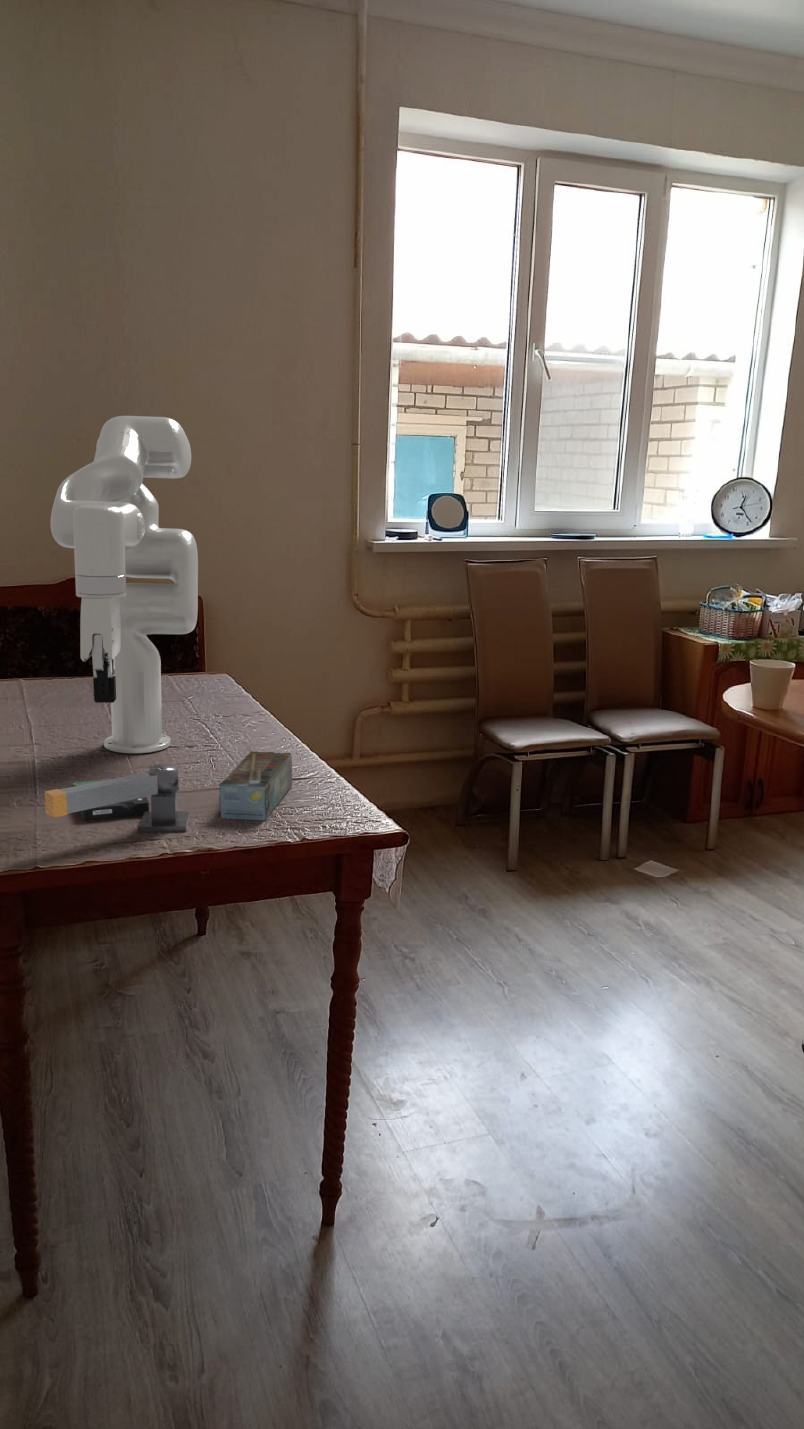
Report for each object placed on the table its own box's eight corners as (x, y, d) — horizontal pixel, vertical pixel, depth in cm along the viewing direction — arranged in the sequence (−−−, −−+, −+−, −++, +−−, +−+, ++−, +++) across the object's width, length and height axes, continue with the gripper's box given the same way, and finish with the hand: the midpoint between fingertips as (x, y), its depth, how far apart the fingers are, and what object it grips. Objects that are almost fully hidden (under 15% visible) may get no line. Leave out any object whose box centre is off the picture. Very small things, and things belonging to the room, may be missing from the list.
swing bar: (169, 784, 164) (168, 762, 163) (184, 791, 161) (183, 768, 160) (42, 811, 150) (41, 787, 150) (56, 819, 147) (55, 794, 146)
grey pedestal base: (144, 816, 166) (143, 786, 164) (189, 815, 166) (189, 785, 165) (138, 831, 159) (138, 800, 158) (186, 831, 160) (185, 800, 158)
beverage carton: (216, 819, 166) (216, 779, 164) (249, 783, 184) (249, 747, 183) (266, 822, 165) (266, 782, 163) (293, 786, 184) (294, 750, 182)
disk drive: (151, 818, 167) (133, 790, 180) (150, 801, 166) (133, 774, 179) (83, 825, 162) (70, 796, 175) (83, 808, 162) (70, 780, 175)
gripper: (84, 580, 169) (89, 691, 174) (66, 591, 155) (71, 712, 159) (132, 581, 170) (135, 691, 175) (118, 592, 156) (122, 712, 160)
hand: (105, 701), depth 167 cm, fingers closed
